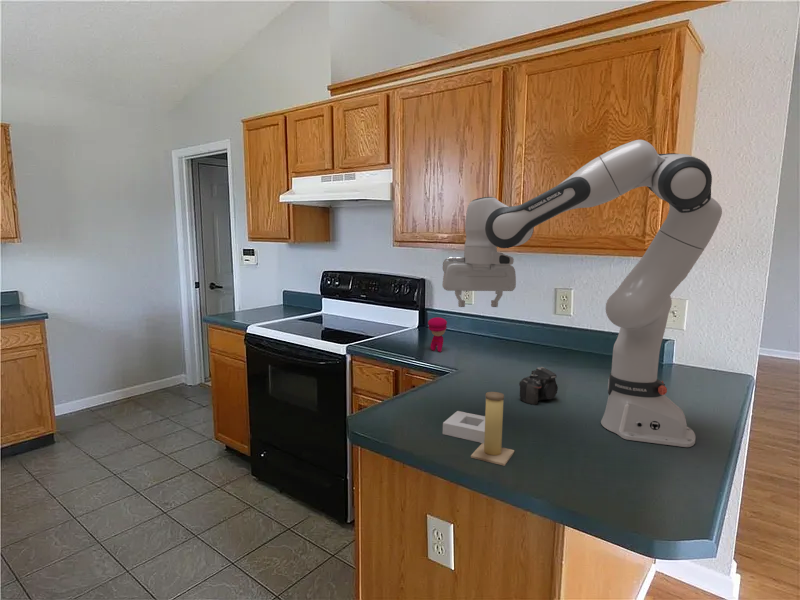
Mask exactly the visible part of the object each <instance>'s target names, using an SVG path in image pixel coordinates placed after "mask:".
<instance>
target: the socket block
mask: <svg viewBox="0 0 800 600" xmlns="http://www.w3.org/2000/svg"><path fill="white" fill-rule="evenodd" d="M442 435H446V436H450V437H453V438H459V439H464V440H467V441H471V442H477V443H481V444H482V443H484V437H485V415H480V414H476V413H475V414H474V413H471V412H470V413H469V412H464V411H460V410H457V411H456V412H454V413H453V414H452V415H450V416H449V417H448V418H447V419H446V420H445V421H443V422H442Z"/></svg>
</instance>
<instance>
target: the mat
mask: <svg viewBox="0 0 800 600" xmlns="http://www.w3.org/2000/svg"><path fill="white" fill-rule="evenodd" d="M514 454H515V450H514V449H511V448H506V447H504V446H502V447H501V454H499V455H490V454H487V453H485V452H484V443H481V444H480V445H478V447H477V448H476V449H475V450H474V451H473V453H471V455H470V458H471V459H475V460H479V461H482V462H483V461H484V462H487V463H491V464H496V465H500V466H503V467H504V466H505V467H506V465H507V463H508V462H509V461H510V459H511V457H512V456H513V455H514Z"/></svg>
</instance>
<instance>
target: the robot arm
mask: <svg viewBox="0 0 800 600" xmlns="http://www.w3.org/2000/svg"><path fill="white" fill-rule="evenodd" d="M712 183H713V176H712V171H711V169H710V167H709V166H708V164H707V163H706V162H705V161H703V160H702V159H700V158H698V157H696V156H693V155H691V154H688V153H676V152H675V153H670V152H669V153H658V152H657V150H656V149H655V147H654V146H653V144H651V143H650V142H648V141H647V140H643V139H636V140H635V139H634V140H632V141H629V142H627V143H624V144H621V145H619V146H617V147H615V148H613V149H611V150H608V151H606V152H604V153H602V154H600V155H599V156H596V157H595V158H593V159H592V160H590V161H588V162H587V163H585V164H584V165H583V166H581V167H580V168H579V169H577V170H576V171H574V172H573V173H572V174H571V175H570V176H568V177H567V178H566V179H564V180H563V181H561V182H560V183H559V184H557V185H556V186H554V187H552V188H550V189H548V190H547V191H545V192H543V193H541V194H539V195H537V196H535V197H533V198H531V199H529V200H527V201H526V202H523V203H520V204H519V205H513V206H512V205H510V206H508V205H507V204H505V203H503V202H501V201H499V199H498V198H496V197H493V196H483V197H477V198H475V199H473V200H471V201H470V202H469V203H468V205H467V209H466V215H465V221H464V222H465V224H464V225H465V226H464V231H465V242H464V250H463V251H464V252H463V256H456V257H455V256H448V258H445V259H444V260H443V261H442V271H443V276H442V288H443V289H444V290H445V291H447V292H451V291H452V292H454V295H455V296H456V299H457V301H458V302H457V303H458V304H457V306H458V308H465V307H466V300H465V299H462V298H461V296H462V292H495V293H494V294H495V297H494V299H493V300H491V304H490V306H491V307H492V308H498V307H499V301H500V299H501V298H502V297H503V295H504V294H503V292H513V291H514V290H515V289H516V285H517V276H516V269H515V267H514V266H513V264H514V262H515V261H514V257H513V256H511V255H508V254H504V253H502V252H499V251H498V249H497V248H501V249H509V248H513V247H517V246H518V247H519V246H521V245H524V244H525V243H527V242H528V241H529V240H530V239H531V238H532V236H533V233H534V229H535V228H536V227H537V226H539V225H541V224H543V223H544V222H546V221H549V220H551V219H552V218H554V217H557V216H558V215H560V214H563V213H565V212H567V211H571V210H574V209H584V208H586V209H587V208H588V209H589V208H593V207H596V206H600V205H603V204H606V203H608V202H611V201H613V200H615V199H617V198H618V197H620V196H623V195H624V194H626V193H629V192H630V191H631V190H635V189H637V188H640V187H642V188H643V187H647V188H648V189H649V190H650V191H651V192H652V193H654V195H655V196H656V197H657V198H658V199H660V200H662V201H665V202H667V204H668V205H669V207H668V208H669V210H668V213H667V217H666V218H665V220H664V221H663V223H662V225H661V226H660V228H659V230H658V231H657V233H656V234H655V236H654V237H653V239H652V241H651V243H650V244H649V246H648V247H647V249H646V250H645V252H644V254H643V255H642V257H641V258H640V260H639V261H638V262H637V264H635V266H634V267H633V268H632V270H631V271H630V272H629V273H628V274H627V276H626V277H625V278H624V279H623V281H622V282H621V283H620V285H619V286H618V287H617V289H616V290H615V291H614V292H613V293H612V294H611V295H610V296H609V297H608V299H606V303H605V313H606V316H607V318H608V319H609V321H610V322H611V323H612V324H613V325H615V326H616V327H619V332H618V334H617V338H616V340H615V342H614V344H613V349H612V360H611V372H610V373H609V377H608V381H607V382H608V383H607V394H608V398H607V401H606V406H605V410H604V413H603V415H602V418H601V420H600V423H601V425H602V427H604V428H605V429H607V430H608V431H610V432H612V433H614V434H617V435H618V436H619V437H620V438H622V439H624V440H627V441H635V442H643V443H652V444H658V445H666V446H667V445H668V446H674V447H682V448H690V447H693V446H694V445H695V444H696V433H695V432H694V430H693V429H692V428H691V427H690V426H688V425H687V419H686V416H685V413H684V411H683V409H682V408H681V407H679V406H678V405H677V404H676V403H674V402H673V401H672V399H670V398H669V397H667V396H666V394H667V392H668V388H667V386H666V384H665V383H664V380H660V379H658V373H659V371H658V369H659V360H660V353H661V352H660V351H661V347H662V343H663V339H664V336H665V331H666V328H667V327H666V326H667V322H668V318H669V313H670V311H671V308H672V305H673V304H672V303H673V302H672V297H671V295H672V294H673V293H674V291H675V290H676V289H677V287H679V285H680V284H681V283H682V282H683V281H684V280H685V279H686V278H687V276H688V275H689V273H690V272H691V270H692V269H693V267H694V266H695V265H696V263H697V261H698V259H700V256H701V255H702V254H703V252H704V251H705V249H706V247H707V246H708V245H709V244H710V243H709V242H710V241H711V239H712V237H713V236H714V233H715V232H716V229H717V227H718V225H719V223H720V220H721V217H722V215H723V210H722V207H721V205H720V203H719V202H718V201H717V200H716V199H714V198H713V197H712Z"/></svg>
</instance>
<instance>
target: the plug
mask: <svg viewBox="0 0 800 600" xmlns="http://www.w3.org/2000/svg"><path fill="white" fill-rule="evenodd" d="M504 399H505V394H504V393H502V392H498V391H488V392H486V393H485V411H484V413H485V414H484V416H485V437H484V452H485V453H487V454H490V455H499V454H501V447H503V445H502V443H503V423H504V422H503V419H504V418H503V417H504Z"/></svg>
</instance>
